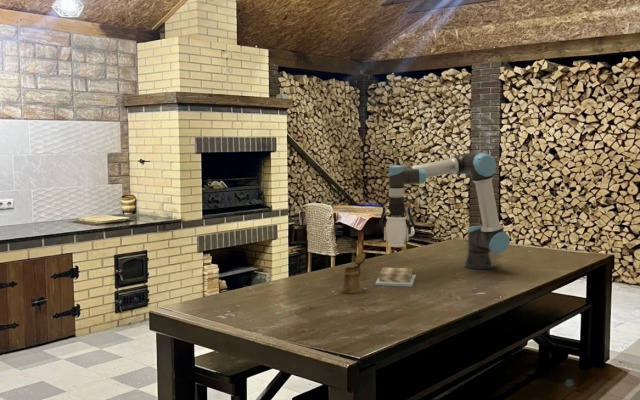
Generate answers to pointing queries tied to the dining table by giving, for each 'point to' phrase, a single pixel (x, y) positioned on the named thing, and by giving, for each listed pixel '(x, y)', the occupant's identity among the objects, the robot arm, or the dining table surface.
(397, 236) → the jar
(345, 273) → the wooden mug
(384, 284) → the board
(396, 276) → the tan flat block
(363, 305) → the dining table surface
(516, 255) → the dining table surface
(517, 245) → the dining table surface
